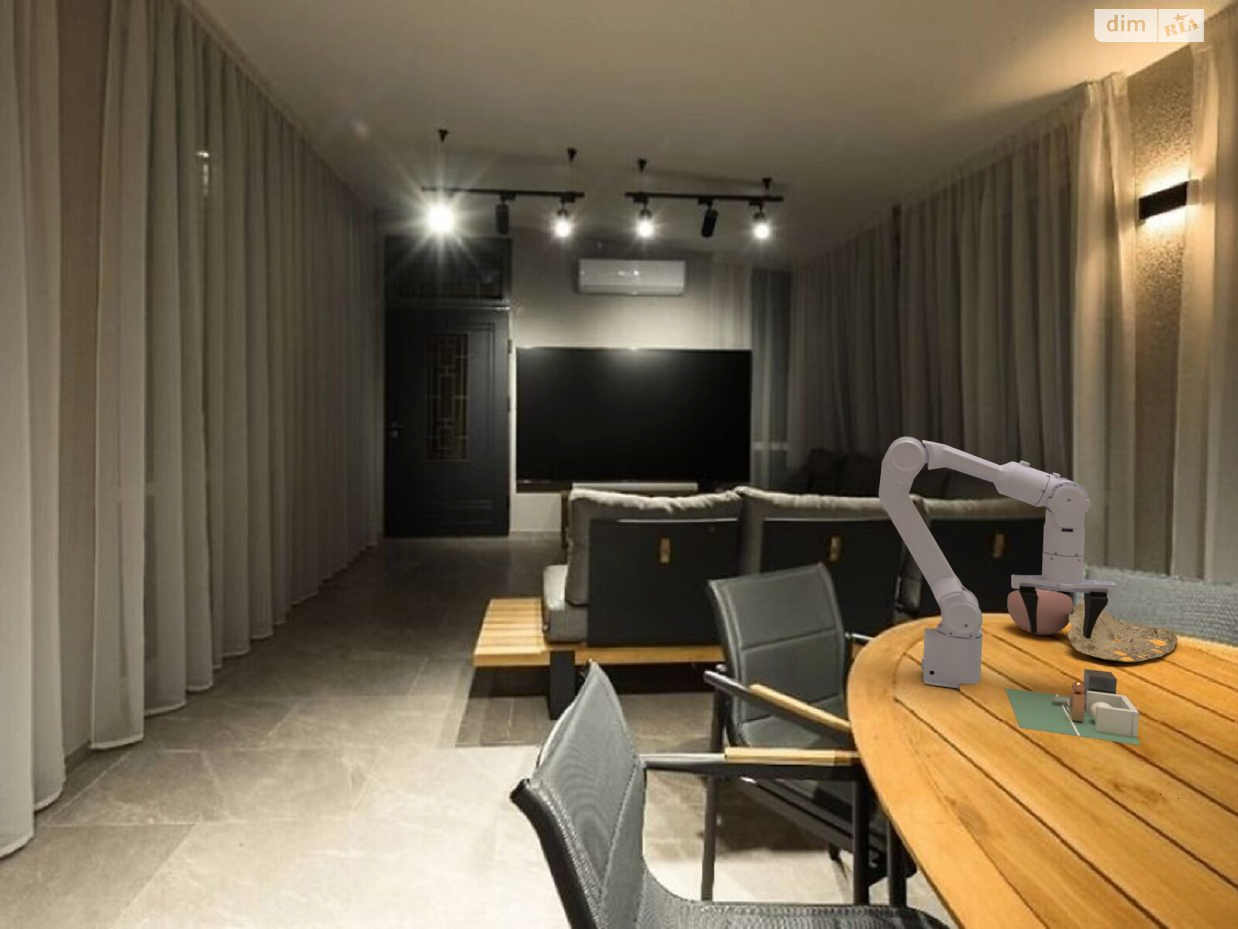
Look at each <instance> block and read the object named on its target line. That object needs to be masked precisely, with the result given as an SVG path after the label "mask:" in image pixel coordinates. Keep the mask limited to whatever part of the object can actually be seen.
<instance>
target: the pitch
mask: <svg viewBox="0 0 1238 929" xmlns="http://www.w3.org/2000/svg"><path fill="white" fill-rule="evenodd" d="M1004 689H1005V693H1006V695H1007V698H1008V701H1009V702H1010V705H1011V709H1012V710H1013V715H1014V716H1015V719H1016V722H1017V725H1018V728H1020V729H1026V730H1033V731H1039V732H1047V733H1055V734H1060V735H1066V736H1073V737H1074V736H1075V737H1080V738H1088V739H1094V740H1101V741H1106V742H1107V741H1108V742H1114V743H1115V742H1116V743H1119V744H1127V745H1128V744H1129V745H1136V746H1142V743H1141V742H1140V740H1138V737H1132V736H1125V735H1118V734H1111V733H1104V732H1097V731H1096V730H1095V721H1094V720H1093V719H1092V717H1091V716H1087V715H1086V708H1085V709H1084V722H1082V721H1075V720H1072V719H1071V717H1070V715H1069V712H1068V710H1067V708H1066V706H1065V704H1060V703H1052V696H1056V697H1064V698H1070V695H1061V694H1058V693H1055V694H1054V693H1046V692H1041V691H1040V692H1039V691H1031V690H1024V689H1023V690H1022V689H1016V688H1015V689H1014V688H1009V687H1005V688H1004Z"/></svg>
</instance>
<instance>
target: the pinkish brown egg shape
mask: <svg viewBox="0 0 1238 929" xmlns="http://www.w3.org/2000/svg"><path fill="white" fill-rule="evenodd" d="M1035 590H1036V591H1037V596H1038V604H1037V633H1032V632H1031V630H1030V623H1029V618H1028V614H1027V610H1026V607H1025V604H1024V602H1023V599H1022V597H1021V595H1020V592H1019V590H1018V589H1017V590H1013V591H1012V592H1010V593H1008V596H1007V601H1006V602H1007V603H1006V604H1007V610H1008V614H1009V615H1010V617H1011V619H1012V621H1013V622H1014V623H1015V624H1016V625H1017V626H1018V627H1019V628H1021V630H1023V631H1025V632H1028V633H1030V634H1032V635H1033V634H1034V635H1037V636H1038V635H1039V636H1049V635H1053V634H1057V633H1059V632H1061V631H1062V630H1064V629H1065V628H1066V627H1067V626H1068V625H1069V624H1070V621H1069V617H1068V616H1069V613H1070V614H1071V615H1072V614H1073V613H1074V604H1073V598H1071V596H1069V595H1068V594H1066V593H1065V594H1064V593H1063V592H1059V591H1053V590H1040V589H1035Z"/></svg>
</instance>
